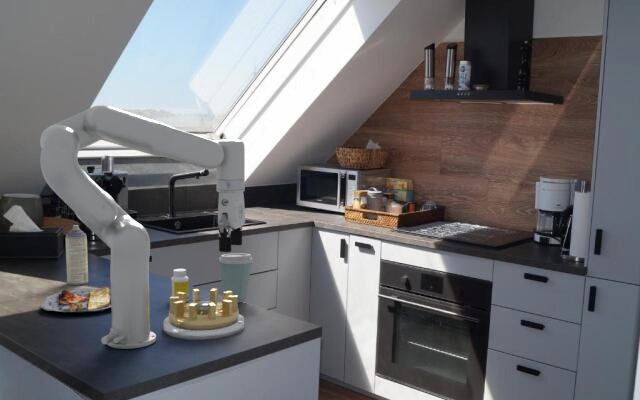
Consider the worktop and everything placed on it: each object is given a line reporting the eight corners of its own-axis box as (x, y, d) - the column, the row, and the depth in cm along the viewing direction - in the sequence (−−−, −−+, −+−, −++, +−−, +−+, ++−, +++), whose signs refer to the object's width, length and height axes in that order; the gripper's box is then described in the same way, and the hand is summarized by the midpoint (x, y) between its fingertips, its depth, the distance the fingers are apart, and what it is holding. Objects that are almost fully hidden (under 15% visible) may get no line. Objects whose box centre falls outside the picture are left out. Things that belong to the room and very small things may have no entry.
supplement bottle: (192, 300, 226) (192, 269, 224) (178, 303, 222) (177, 272, 220) (182, 297, 229) (181, 267, 228) (167, 300, 225) (167, 269, 224)
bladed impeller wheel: (157, 327, 191) (157, 303, 190) (184, 307, 209) (184, 286, 208) (225, 332, 187) (225, 308, 186) (247, 312, 206) (247, 290, 205)
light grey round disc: (219, 344, 184) (219, 335, 184) (147, 333, 192) (147, 325, 192) (257, 320, 205) (257, 313, 204) (190, 312, 213) (190, 305, 212)
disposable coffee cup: (212, 299, 227) (212, 252, 225) (242, 294, 234) (242, 248, 232) (229, 306, 219) (228, 258, 217) (259, 301, 225) (259, 254, 223)
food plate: (50, 295, 229) (50, 285, 229) (125, 293, 234) (125, 282, 233) (36, 320, 205) (36, 308, 204) (121, 317, 210) (120, 306, 209)
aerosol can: (87, 280, 250) (85, 223, 248) (88, 284, 244) (86, 226, 241) (67, 281, 248) (64, 224, 245) (67, 286, 242) (65, 227, 239)
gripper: (234, 189, 184) (234, 255, 186) (252, 182, 200) (252, 243, 203) (206, 188, 185) (206, 253, 187) (227, 182, 202) (227, 241, 204)
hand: (230, 248), depth 195 cm, fingers open, 9 cm apart
